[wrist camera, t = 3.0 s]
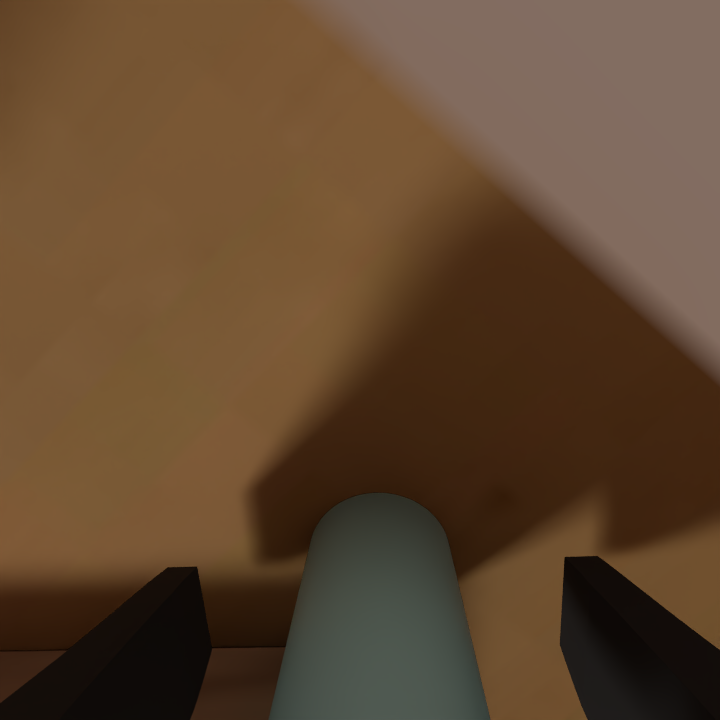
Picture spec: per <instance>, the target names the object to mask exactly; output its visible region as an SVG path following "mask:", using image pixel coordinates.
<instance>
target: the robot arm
mask: <svg viewBox="0 0 720 720" xmlns="http://www.w3.org/2000/svg"><path fill="white" fill-rule="evenodd" d="M560 646H561V649H562V652H563V655H564V658H565V661H566V664H567V667H568V670H569V672H570V675H571V678H572V681H573V684H574V686H575V689H576V692H577V695H578V697H579V700H580V703H581V706H582V708H583V710H584V712H585V714H586V717H587V719H588V720H720V650H719V649H718V648H716V647H715V646H714V645H712V644H711V643H710V642H708V641H707V640H706V639H704V638H703V637H702V636H700V635H699V634H698V633H696V632H695V631H694V630H692V629H691V628H690V627H688V626H687V625H686V624H685V623H683V622H682V621H681V620H679V619H678V618H677V617H675V616H674V615H673V614H672V613H670V612H669V611H668V610H666V609H665V608H664V607H663V606H661V605H660V604H659V603H657V602H656V601H655V600H654V599H652V598H651V597H650V596H649V595H647V594H646V593H645V592H643V591H642V590H641V589H640V588H638V587H637V586H636V585H635V584H633V583H632V582H631V581H629V580H628V579H627V578H626V577H624V576H623V575H622V574H620V573H619V572H618V571H617V570H615V569H614V568H613V567H611V566H610V565H609V564H608V563H606V562H605V561H603V560H602V559H601V558H599V557H598V556H584V557H565V560H564V578H563V596H562V615H561V633H560ZM211 652H212V646H211V641H210V635H209V630H208V624H207V619H206V613H205V608H204V602H203V597H202V591H201V586H200V580H199V574H198V569H197V567H168V568H166V569H165V570H164V571H163V572H161V573H160V574H159V575H157V576H156V577H155V578H154V579H152V580H151V581H150V582H149V583H148V584H146V585H145V586H144V587H143V588H141V589H140V590H139V591H138V592H137V593H135V594H134V595H133V596H132V597H131V598H130V599H128V600H127V601H126V602H125V603H124V604H122V605H121V606H120V607H119V608H118V609H116V610H115V611H114V612H113V613H112V614H111V615H109V616H108V617H107V618H106V619H105V620H103V621H102V622H101V623H100V624H99V625H97V626H96V627H95V628H94V629H92V630H91V631H90V632H89V633H88V634H86V635H85V636H84V637H83V638H82V639H80V640H79V641H78V642H77V643H76V644H74V645H73V646H72V647H71V648H70V649H68V650H67V651H66V652H65V653H64V654H62V655H61V656H60V657H59V658H57V659H56V660H55V661H53V662H52V663H51V664H50V665H48V666H47V667H46V668H44V669H43V670H42V671H41V672H39V673H38V674H37V675H36V676H34V677H33V678H32V679H30V680H29V681H28V682H27V683H25V684H24V685H23V686H21V687H20V688H19V689H18V690H16V691H15V692H14V693H12V694H11V695H10V696H9V697H7V698H6V699H5V700H3V701H2V702H1V703H0V720H190V719H191V716H192V714H193V711H194V709H195V706H196V702H197V699H198V696H199V693H200V690H201V686H202V683H203V680H204V676H205V673H206V669H207V666H208V662H209V659H210V655H211Z"/></svg>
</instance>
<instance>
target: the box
mask: <svg viewBox="0 0 720 720" xmlns="http://www.w3.org/2000/svg"><path fill="white" fill-rule="evenodd" d="M65 652H66V651H7V652H0V703H1V702H2V701H3V700H5V699H6V698H7V697H9V696H10V695H11V694H12V693H14V692H15V691H16V690H18V689H19V688H20V687H21V686H23V685H24V684H25V683H27V682H28V681H29V680H30V679H32V678H33V677H34V676H36V675H37V674H38V673H39V672H41V671H42V670H43V669H44V668H46V667H47V666H48V665H50V664H51V663H52V662H53V661H55V660H56V659H57V658H59V657H60V656H61V655H62V654H64V653H65ZM284 652H285V647H266V648H212V652H211V655H210V659H209V662H208V666H207V669H206V673H205V676H204V680H203V683H202V686H201V690H200V693H199V696H198V699H197V702H196V706H195V709H194V711H193V714H192V716H191V719H190V720H268V719H269V715H270V711H271V707H272V702H273V698H274V694H275V690H276V686H277V681H278V677H279V673H280V669H281V664H282V660H283V656H284Z"/></svg>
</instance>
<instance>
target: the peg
mask: <svg viewBox="0 0 720 720" xmlns="http://www.w3.org/2000/svg"><path fill="white" fill-rule="evenodd" d="M268 720H490V716H489V711H488V707H487V703H486V699H485V695H484V690H483V686H482V682H481V678H480V673H479V669H478V665H477V661H476V656H475V652H474V648H473V644H472V639H471V635H470V631H469V627H468V623H467V618H466V614H465V610H464V606H463V601H462V597H461V593H460V589H459V584H458V580H457V576H456V572H455V567H454V563H453V559H452V555H451V551H450V546H449V542H448V538H447V536H446V533H445V531H444V529H443V527H442V526H441V524H440V522H439V521H438V520H437V519H436V518H435V516H434V515H433V514H432V513H431V512H429V511H428V510H427V509H426V508H424V507H423V506H422V505H420V504H418V503H417V502H415V501H413V500H411V499H408V498H405V497H403V496H399V495H395V494H389V493H367V494H362V495H357V496H354V497H351V498H348V499H346V500H344V501H342V502H340V503H339V504H337V505H336V506H334V507H333V508H331V509H330V510H329V511H328V512H327V513H326V514H325V515H324V516H323V517H322V518H321V520H320V521H319V523H318V524H317V526H316V528H315V530H314V532H313V535H312V538H311V542H310V546H309V550H308V555H307V559H306V563H305V567H304V571H303V576H302V580H301V584H300V588H299V593H298V597H297V601H296V605H295V609H294V614H293V618H292V622H291V626H290V631H289V635H288V639H287V643H286V647H285V652H284V656H283V660H282V664H281V669H280V673H279V677H278V681H277V686H276V690H275V694H274V698H273V702H272V707H271V711H270V715H269V719H268Z"/></svg>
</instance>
